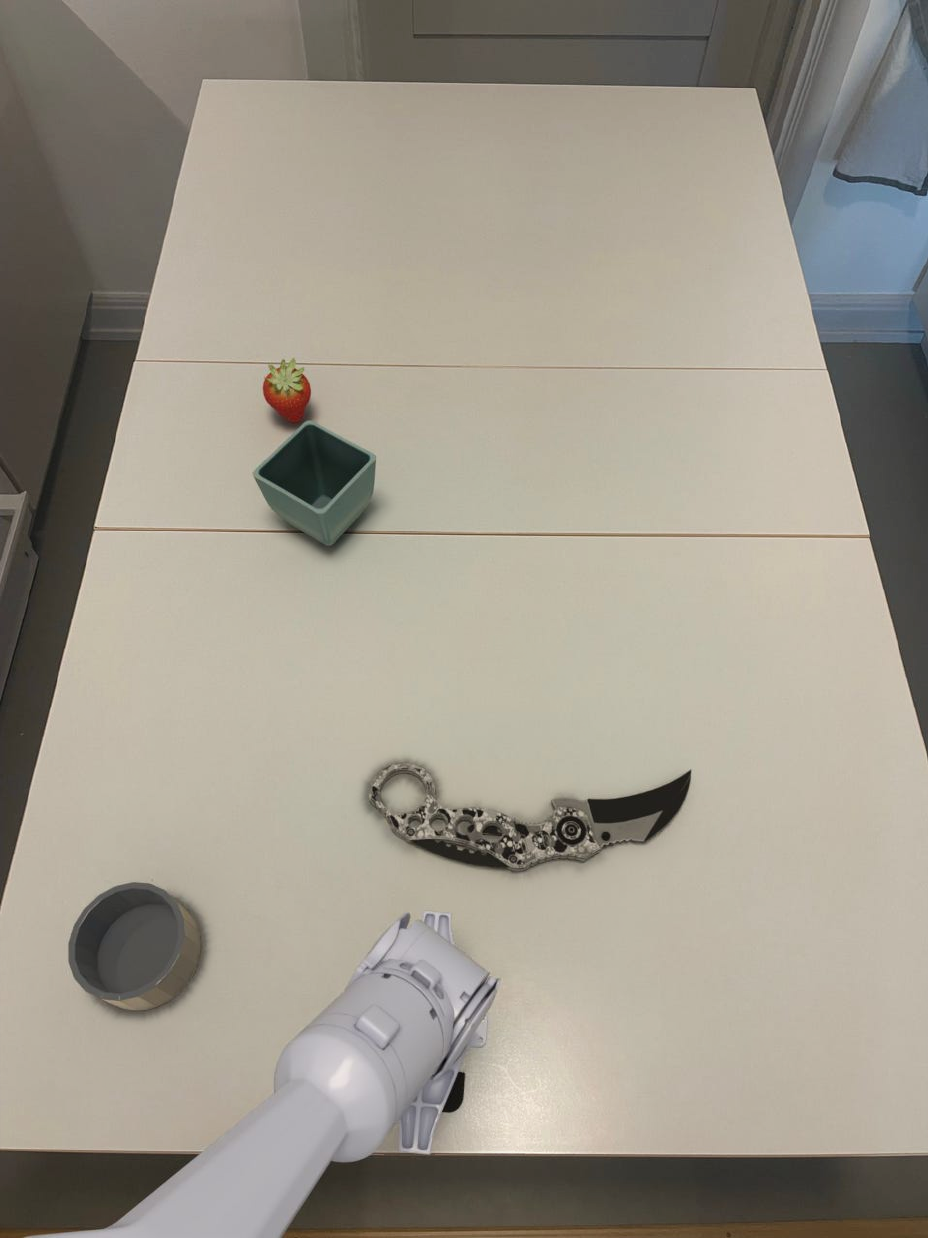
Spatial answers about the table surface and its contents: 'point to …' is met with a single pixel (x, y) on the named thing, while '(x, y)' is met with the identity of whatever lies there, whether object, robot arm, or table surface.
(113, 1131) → the table surface
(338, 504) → the flower pot
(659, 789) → the knife
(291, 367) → the fruit
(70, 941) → the holder
